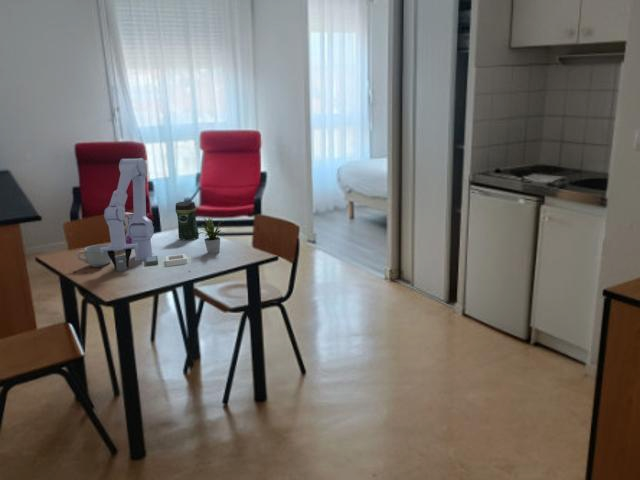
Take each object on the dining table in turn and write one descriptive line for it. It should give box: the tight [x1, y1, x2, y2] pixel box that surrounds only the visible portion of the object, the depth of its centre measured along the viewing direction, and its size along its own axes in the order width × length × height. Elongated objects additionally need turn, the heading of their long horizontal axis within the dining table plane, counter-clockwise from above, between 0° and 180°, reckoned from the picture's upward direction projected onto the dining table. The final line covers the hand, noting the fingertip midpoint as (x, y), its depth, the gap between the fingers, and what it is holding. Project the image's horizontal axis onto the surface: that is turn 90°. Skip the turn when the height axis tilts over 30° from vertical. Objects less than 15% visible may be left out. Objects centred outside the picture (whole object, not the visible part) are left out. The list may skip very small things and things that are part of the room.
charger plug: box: [115, 254, 128, 272], centre depth 246 cm, size 4×4×6 cm
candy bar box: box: [123, 211, 134, 244], centre depth 286 cm, size 11×5×16 cm, turn 58°
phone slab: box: [144, 255, 159, 266], centre depth 254 cm, size 9×5×2 cm, turn 17°
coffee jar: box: [175, 201, 200, 241], centre depth 295 cm, size 10×8×19 cm
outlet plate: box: [141, 253, 193, 270], centre depth 253 cm, size 13×20×3 cm, turn 107°
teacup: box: [76, 244, 112, 268], centre depth 256 cm, size 14×11×8 cm
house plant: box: [198, 217, 225, 255], centre depth 267 cm, size 14×14×16 cm
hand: (121, 267), depth 246 cm, fingers closed on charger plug, 4 cm apart
